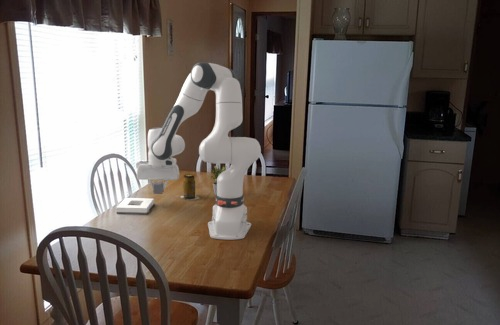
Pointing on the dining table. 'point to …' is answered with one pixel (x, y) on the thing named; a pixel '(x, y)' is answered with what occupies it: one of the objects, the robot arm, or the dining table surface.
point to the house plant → (216, 173)
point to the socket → (135, 206)
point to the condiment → (189, 187)
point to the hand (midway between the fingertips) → (158, 188)
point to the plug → (158, 187)
